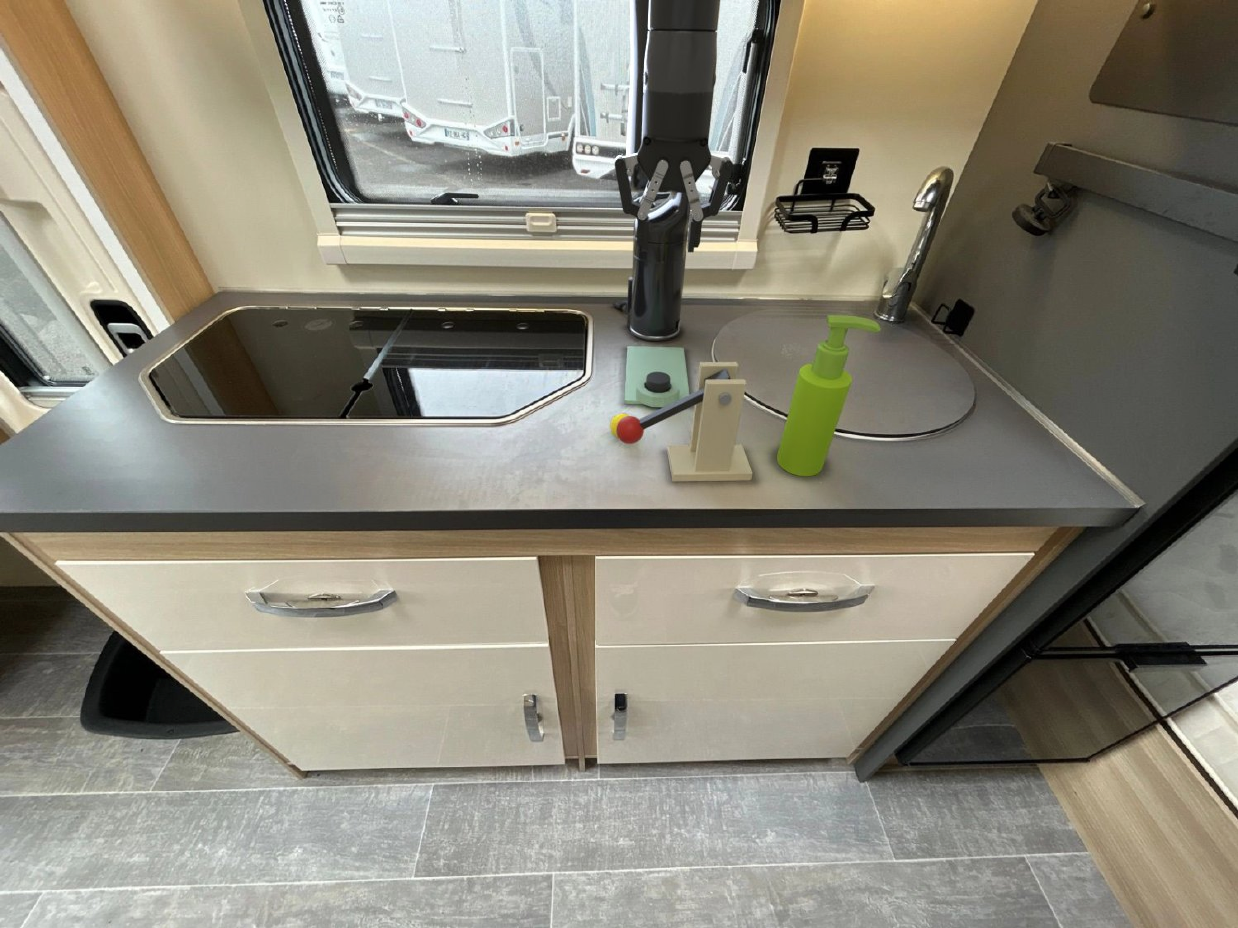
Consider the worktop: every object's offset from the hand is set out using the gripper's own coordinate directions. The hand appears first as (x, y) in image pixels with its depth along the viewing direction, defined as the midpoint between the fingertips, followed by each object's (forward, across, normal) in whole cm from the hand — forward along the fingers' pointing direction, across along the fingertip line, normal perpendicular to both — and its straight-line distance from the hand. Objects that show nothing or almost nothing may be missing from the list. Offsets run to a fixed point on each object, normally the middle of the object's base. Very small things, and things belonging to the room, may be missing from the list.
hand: (667, 249), depth 67 cm
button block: (+22, 0, -8) cm, 24 cm away
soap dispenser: (+23, -19, +14) cm, 33 cm away
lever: (+15, -2, +16) cm, 22 cm away
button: (+20, 0, 0) cm, 20 cm away
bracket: (+22, -6, +16) cm, 28 cm away
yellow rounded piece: (+23, +5, +9) cm, 25 cm away
